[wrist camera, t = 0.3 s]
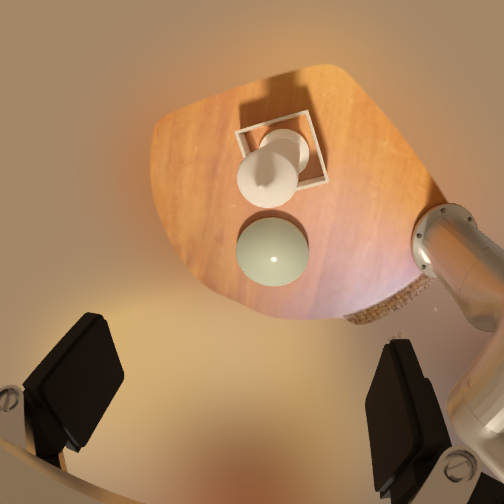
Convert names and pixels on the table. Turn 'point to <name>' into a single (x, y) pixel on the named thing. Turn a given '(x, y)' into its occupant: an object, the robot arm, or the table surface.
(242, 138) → the tray
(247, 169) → the candle
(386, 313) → the table surface
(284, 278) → the pale green dome
